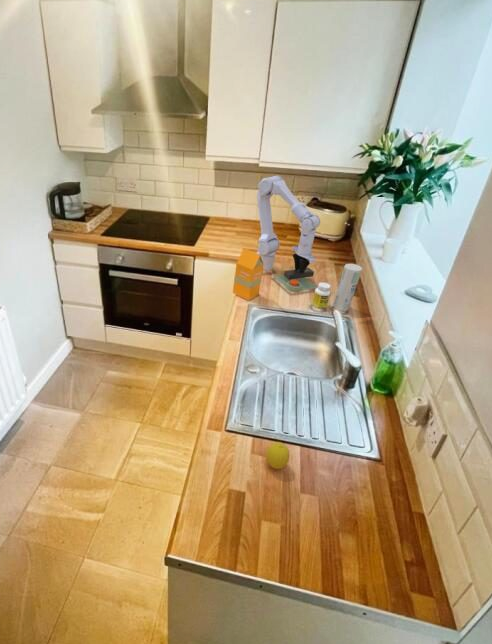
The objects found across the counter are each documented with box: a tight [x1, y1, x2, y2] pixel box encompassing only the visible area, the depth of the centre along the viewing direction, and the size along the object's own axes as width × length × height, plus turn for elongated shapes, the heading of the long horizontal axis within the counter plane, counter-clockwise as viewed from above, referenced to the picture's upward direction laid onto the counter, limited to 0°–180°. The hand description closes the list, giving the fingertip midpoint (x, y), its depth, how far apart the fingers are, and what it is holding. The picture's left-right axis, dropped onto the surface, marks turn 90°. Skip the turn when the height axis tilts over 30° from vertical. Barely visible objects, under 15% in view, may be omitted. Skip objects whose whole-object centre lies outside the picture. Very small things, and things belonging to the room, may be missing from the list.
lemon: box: [265, 441, 290, 470], centre depth 99 cm, size 6×6×8 cm
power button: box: [290, 279, 299, 286], centre depth 178 cm, size 4×4×2 cm
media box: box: [272, 274, 318, 293], centre depth 184 cm, size 16×14×4 cm
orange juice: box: [232, 248, 264, 301], centre depth 171 cm, size 8×9×20 cm
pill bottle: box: [311, 282, 332, 310], centre depth 165 cm, size 6×6×11 cm
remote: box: [283, 267, 315, 280], centre depth 183 cm, size 13×4×3 cm, turn 109°
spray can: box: [332, 263, 363, 312], centre depth 162 cm, size 6×6×20 cm
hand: (299, 271), depth 183 cm, fingers closed on remote, 3 cm apart
